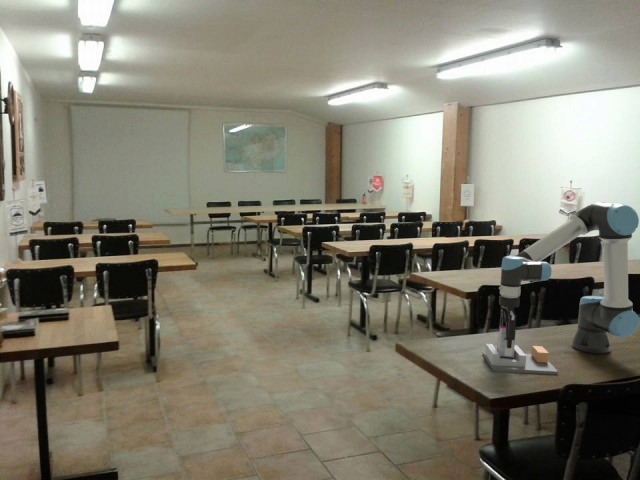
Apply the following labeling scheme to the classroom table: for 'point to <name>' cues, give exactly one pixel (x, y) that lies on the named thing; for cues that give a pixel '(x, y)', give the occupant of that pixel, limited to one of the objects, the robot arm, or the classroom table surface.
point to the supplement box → (502, 343)
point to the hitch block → (516, 362)
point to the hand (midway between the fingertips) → (505, 352)
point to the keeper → (540, 354)
